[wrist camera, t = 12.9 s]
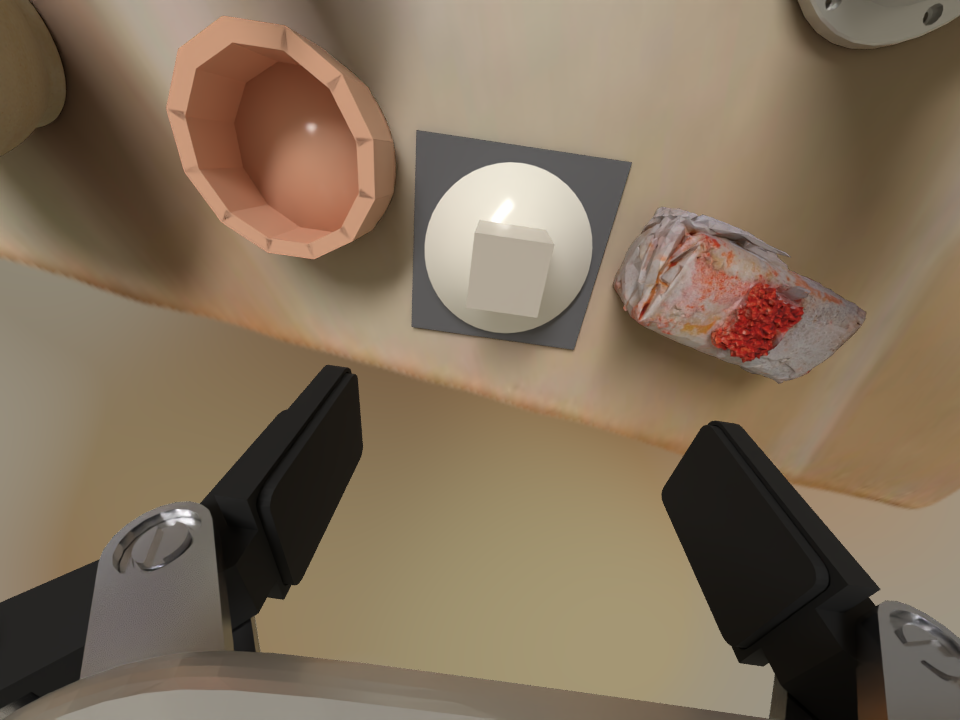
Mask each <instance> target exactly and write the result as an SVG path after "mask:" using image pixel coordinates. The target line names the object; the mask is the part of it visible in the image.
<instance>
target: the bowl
mask: <svg viewBox="0 0 960 720" xmlns="http://www.w3.org/2000/svg"><path fill="white" fill-rule="evenodd" d="M166 108H167V109H166V110H167V113H168V117H169V120H170V124H171V127H172V131H173V134H174V138H175V141H176V145H177V148H178V152H179V155H180V159H181V163H182V166H183V170H184V172H185V173H186V175H187V176H188V178H189V179H190V180H191V182H192V183H193V184H194V186H195V187H196V188H197V190H198V191H199V192H200V194H201V195H202V196H203V198H204V199H205V201H206V202H207V203H208V205H209V206H210V207H211V209H212V210H213V211H214V213H215V214H216V215H217V217H218V218H219V219H220V221H221V222H222V223H223V224H225V225H226V226H228V227H230V228H231V229H233V230H234V231H236V232H237V233H239V234H240V235H242V236H243V237H245V238H246V239H248V240H249V241H251V242H252V243H254V244H256V245H257V246H259V247H260V248H262V249H263V250H265V251H266V252H268V253H274V254H281V255H288V256H295V257H302V258H309V259H316V258H318V257H320V256H322V255H324V254H326V253H329V252H331V251H333V250H335V249H337V248H339V247H341V246H344V245H346V244H348V243H350V242H352V241H354V240H356V239H357V238H359V237H361V236H363V235H365V234H366V233H368V232H370V231H372V230H373V229H374V227H375V225H376V224H377V222H378V221H379V220H380V219H381V218H382V216H383V215H384V213H385V212H386V210H387V208H388V206H389V204H390V201H391V198H392V195H393V192H394V187H395V181H396V155H395V149H394V143H393V139H392V136H391V132H390V129H389V126H388V124H387V121H386V119H385V116H384V114H383V112H382V111H381V109H380V107H379V105H378V103H377V102H376V100H375V99H374V97H373V96H372V94H371V92H370V90H369V88H368V87H367V86H366V85H365V84H364V83H363V82H362V81H361V80H360V79H359V78H358V77H357V76H355V75H354V74H353V73H352V72H351V71H350V70H349V69H348V68H346V67H345V66H344V65H342V64H341V63H340V62H338V61H337V60H336V59H335V58H334V57H332V56H331V55H330V54H329V53H328V52H327V51H325V50H324V49H323V48H322V47H320V46H318V45H317V44H315V43H313V42H312V41H310V40H308V39H307V38H305V37H303V36H302V35H300V34H298V33H297V32H295V31H293V30H292V29H290V28H289V27H287V26H285V25H279V24H273V23H266V22H260V21H253V20H247V19H240V18H234V17H227V16H221V17H220V18H219V19H217V20H216V21H215V22H213V23H212V24H211V25H209V26H208V27H207V28H205V29H204V30H203V31H201V32H200V33H199V34H197V35H196V36H195V37H193V38H192V39H191V40H189V41H188V42H187V43H185V44H184V45H183V46H181V47H180V48H179V49H178V52H177V57H176V62H175V67H174V72H173V77H172V82H171V87H170V92H169V97H168V102H167V106H166Z"/></svg>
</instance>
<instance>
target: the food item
mask: <svg viewBox="0 0 960 720" xmlns="http://www.w3.org/2000/svg"><path fill="white" fill-rule="evenodd" d="M775 253H777V254H780V255H784V256H788V257H790V256H789V255H788V254H787V253H785V252H783V251H781V250H778V249H776V248H774V247H772V246H770V245H767V244H766V243H765V242H763V241H762V240H760V239H758V238H756V237H754V235H752V234H750V233H749V232H746V231H743V230H741V229H739V228H737V227H734V226H732V225H729V224H727V223H725V222H722V221H719V220H717V219H714V218H712V217H708V216H705V215H701V216H698V215H696V214H695V213H690V212H688V211H684V210H681V209H671V208H666V207H660V208H658V209H657V210H656V212H655V214H654V216H653V217H652V219H651V220H650V221H649V223H648V224H647V225H646V226H645V227H644V228H643V230H642V232H641V234H640V235H639V236H638V237H637V238H636V239H635V240H634V242H633V243H632V244H631V246H630V248H629V249H628V251H627V253H626V256H625V259H624V261H623V263H622V266H621V267H620V269H619V271H618V272H617V274H616V277H615V280H614V283H613V286H614V288H615V290H616V292H617V293H618V294H619V296H620V298H621V300H622V302H623V303H624V307H623V309H624V310H625V311H628V313H629V315H630V316H631V317H632V318H633V319H634V320H636V321H637V322H638V323H639V324H641V325H643V326H644V327H646V328H648V329H651V330H653V331H655V332H657V333H659V334H661V335H663V336H665V337H667V338H669V339H671V340H674V341H676V342H678V343H681V344H683V345H686V346H689V347H692V348H694V349H696V350H698V351H700V352H703V353H705V354H708V355H711V356H714V357H716V358H719V359H721V360H724V361H726V362H728V363H732V364H736V365H740V367H741V368H742V369H744V370H745V371H748V372H750V373H752V374H759V375H762V376H764V377H768V378H771V379H773V380H775V381H776V382H777V383H782V382H783V381H787V380H792V379H795V378H798V377H801V376H803V375H805V374H807V373H809V372H810V371H811V369H812V368H814V367H815V366H817V365H819V364H820V363H822V362H823V361H825V360H826V359H828V358H829V357H830V356H832V355H833V354H834V352H835V351H836V350H837V349H838V348H840V347H841V346H842V345H843V344H844V343H845V342H846V341H847V340H848V339H849V338H851V337H852V336H853V335H854V334H855V333H856V331H857V330H858V329H859V328H860V327H861V326H862V324H863V322H864V320H865V318H866V312H865V311H864V310H862V309H861V308H859V307H858V306H857V305H856V304H855V303H852V302H850V301H847V300H845V299H844V298H842V297H841V296H840V295H838V294H836V293H834V292H833V291H832V290H831V289H828V288H825V287H823V286H822V285H821V284H820V283H818V282H816V281H814V280H812V279H810V278H807V277H804V276H801V275H799V274H797V273H795V272H793V271H790V270H788V266H787V264H785V263H784V262H782V261H781V260H780V259H779V258H778V256H777V255H776V254H775Z"/></svg>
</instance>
